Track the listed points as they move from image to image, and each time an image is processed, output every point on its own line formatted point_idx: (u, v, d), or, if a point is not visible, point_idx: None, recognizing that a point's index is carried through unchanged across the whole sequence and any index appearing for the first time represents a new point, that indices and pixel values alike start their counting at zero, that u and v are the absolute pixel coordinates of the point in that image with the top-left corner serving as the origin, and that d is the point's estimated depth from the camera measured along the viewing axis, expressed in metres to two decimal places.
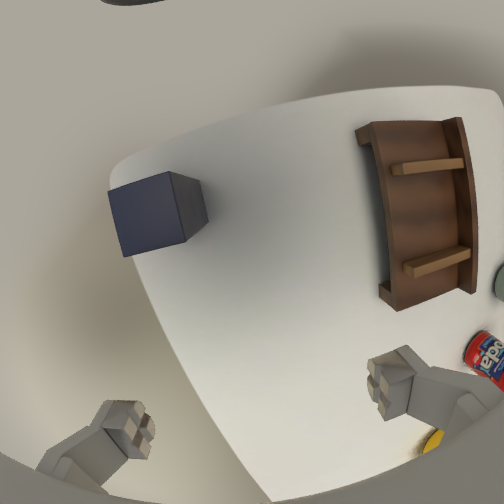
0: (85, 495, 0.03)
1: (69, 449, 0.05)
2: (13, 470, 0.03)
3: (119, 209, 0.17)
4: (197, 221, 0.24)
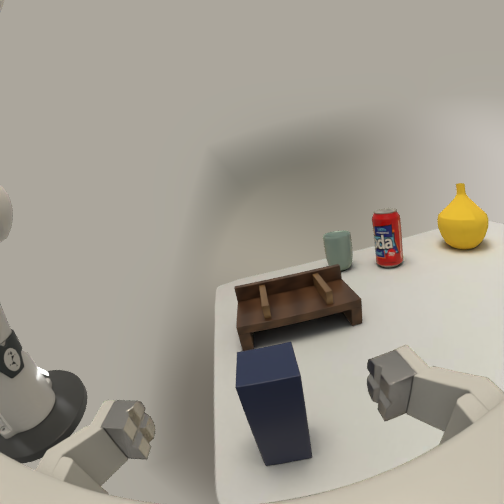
0: (85, 495, 0.03)
1: (69, 449, 0.05)
2: (13, 470, 0.03)
3: (255, 378, 0.19)
4: None
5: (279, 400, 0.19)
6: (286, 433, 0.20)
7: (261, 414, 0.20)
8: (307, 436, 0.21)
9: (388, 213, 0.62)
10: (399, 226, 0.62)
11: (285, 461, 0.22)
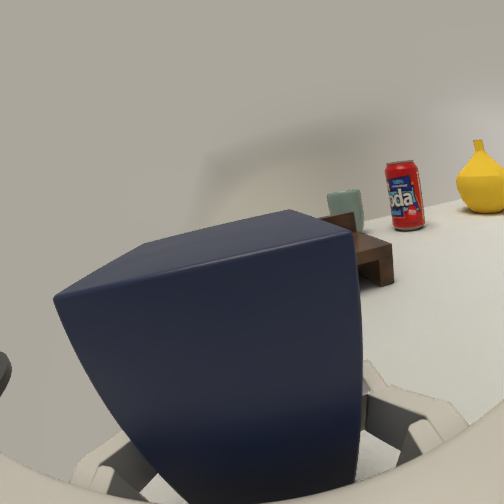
0: (85, 495, 0.03)
1: (107, 457, 0.05)
2: (13, 469, 0.03)
3: (135, 269, 0.04)
4: None
5: (250, 394, 0.04)
6: (284, 497, 0.05)
7: (184, 445, 0.04)
8: None
9: (404, 162, 0.47)
10: (418, 179, 0.48)
11: None
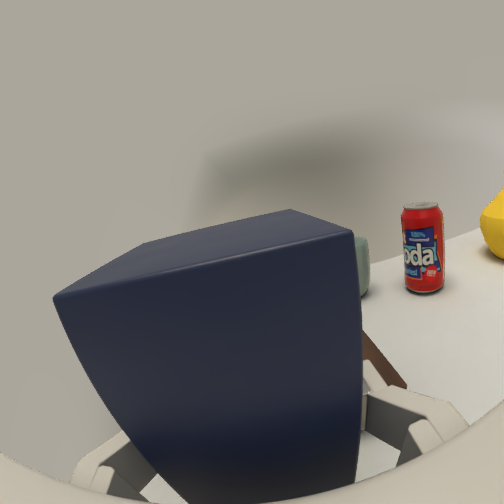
0: (85, 495, 0.03)
1: (107, 457, 0.05)
2: (13, 469, 0.03)
3: (135, 268, 0.04)
4: None
5: (251, 394, 0.04)
6: (284, 497, 0.05)
7: (184, 445, 0.04)
8: None
9: (428, 208, 0.35)
10: (443, 229, 0.36)
11: None
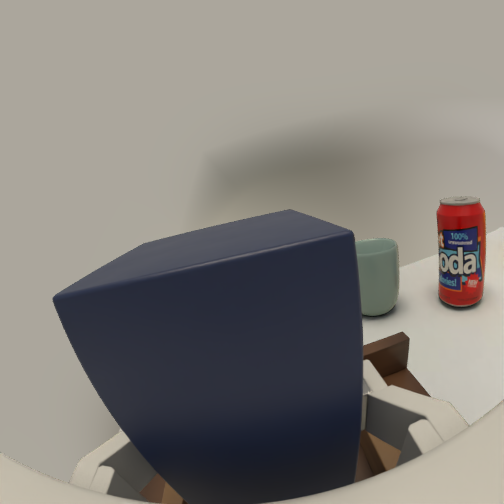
0: (85, 495, 0.03)
1: (107, 457, 0.05)
2: (13, 469, 0.03)
3: (135, 268, 0.04)
4: None
5: (251, 394, 0.04)
6: (284, 497, 0.05)
7: (183, 445, 0.04)
8: None
9: (471, 204, 0.25)
10: (485, 230, 0.26)
11: None
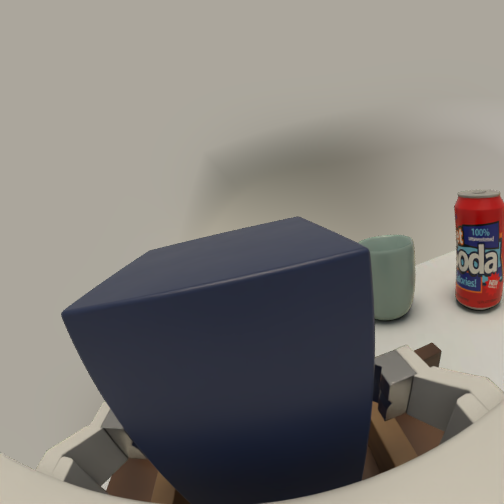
0: (85, 495, 0.03)
1: (69, 449, 0.05)
2: (13, 469, 0.03)
3: (146, 283, 0.04)
4: None
5: (265, 407, 0.04)
6: None
7: (195, 455, 0.04)
8: None
9: (492, 197, 0.21)
10: None
11: None
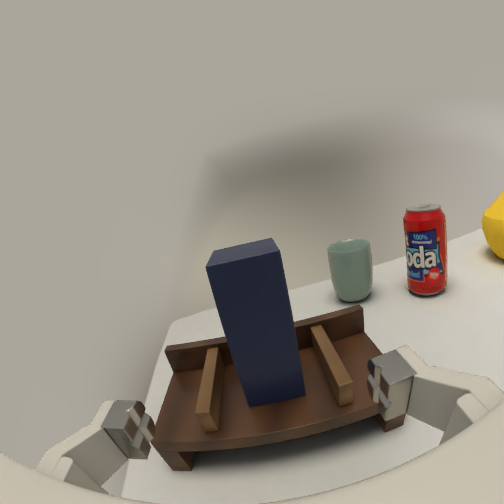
0: (85, 495, 0.03)
1: (69, 449, 0.05)
2: (13, 469, 0.03)
3: (228, 258, 0.18)
4: None
5: (257, 289, 0.18)
6: (269, 347, 0.19)
7: (237, 312, 0.18)
8: (297, 355, 0.19)
9: (430, 211, 0.35)
10: (445, 231, 0.36)
11: (272, 400, 0.20)
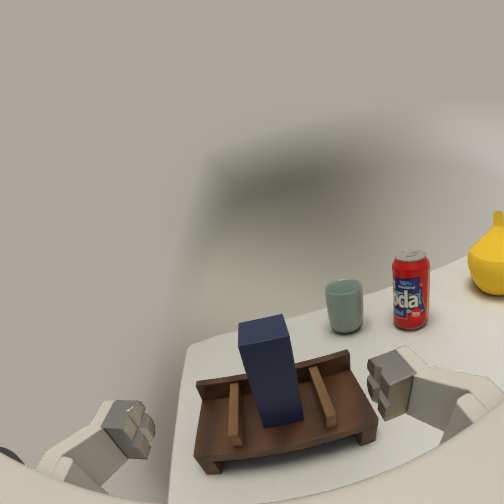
0: (85, 495, 0.03)
1: (69, 449, 0.05)
2: (13, 469, 0.03)
3: (253, 339, 0.25)
4: None
5: (273, 359, 0.25)
6: (280, 392, 0.26)
7: (259, 372, 0.26)
8: (298, 396, 0.27)
9: (416, 261, 0.42)
10: (428, 277, 0.43)
11: (280, 424, 0.27)
